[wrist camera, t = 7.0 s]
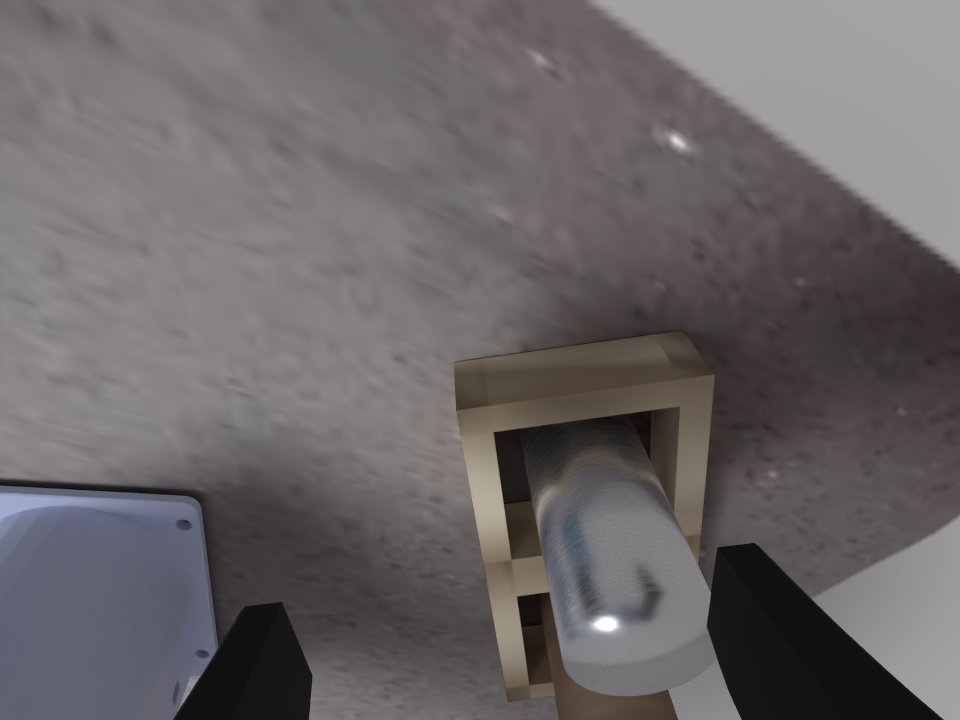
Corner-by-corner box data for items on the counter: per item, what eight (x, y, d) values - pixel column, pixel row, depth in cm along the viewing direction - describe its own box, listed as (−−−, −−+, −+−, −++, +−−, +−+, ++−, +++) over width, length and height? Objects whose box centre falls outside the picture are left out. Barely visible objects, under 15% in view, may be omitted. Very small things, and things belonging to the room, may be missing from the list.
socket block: (666, 620, 26) (724, 776, 21) (502, 643, 26) (518, 804, 21) (682, 330, 19) (777, 459, 13) (454, 362, 19) (461, 502, 14)
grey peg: (620, 466, 21) (709, 691, 14) (517, 471, 21) (557, 700, 14) (634, 378, 19) (742, 588, 13) (520, 382, 19) (567, 598, 12)
